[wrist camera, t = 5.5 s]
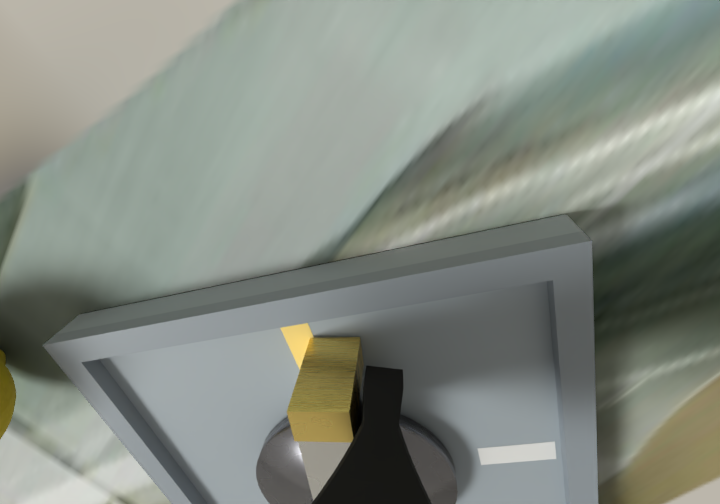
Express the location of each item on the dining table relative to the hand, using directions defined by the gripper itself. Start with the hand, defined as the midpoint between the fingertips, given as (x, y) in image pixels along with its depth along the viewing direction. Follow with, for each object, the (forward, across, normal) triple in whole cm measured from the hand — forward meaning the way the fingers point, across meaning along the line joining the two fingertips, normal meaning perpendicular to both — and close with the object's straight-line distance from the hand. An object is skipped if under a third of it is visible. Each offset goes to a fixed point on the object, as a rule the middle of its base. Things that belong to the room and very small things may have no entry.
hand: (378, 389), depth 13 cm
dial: (+1, +1, +4) cm, 4 cm away
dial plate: (+2, +1, +6) cm, 6 cm away
